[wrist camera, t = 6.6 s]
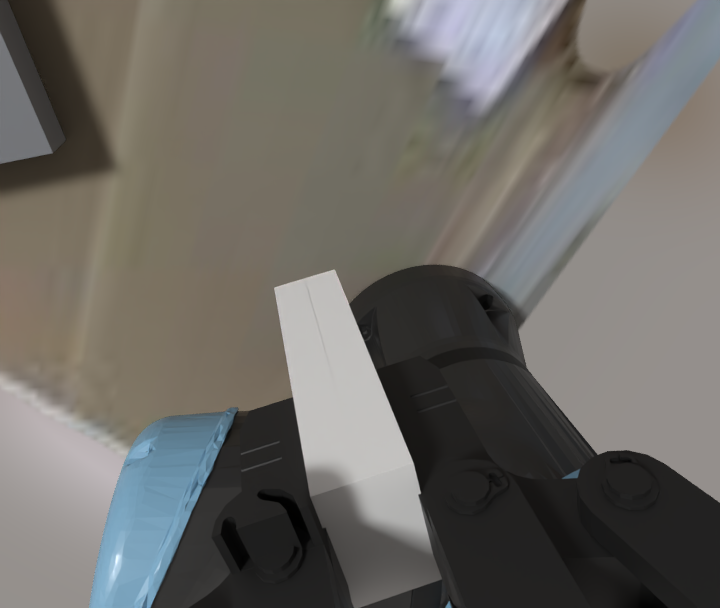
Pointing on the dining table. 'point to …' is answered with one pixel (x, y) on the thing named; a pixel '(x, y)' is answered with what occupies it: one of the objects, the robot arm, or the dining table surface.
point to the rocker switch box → (23, 98)
